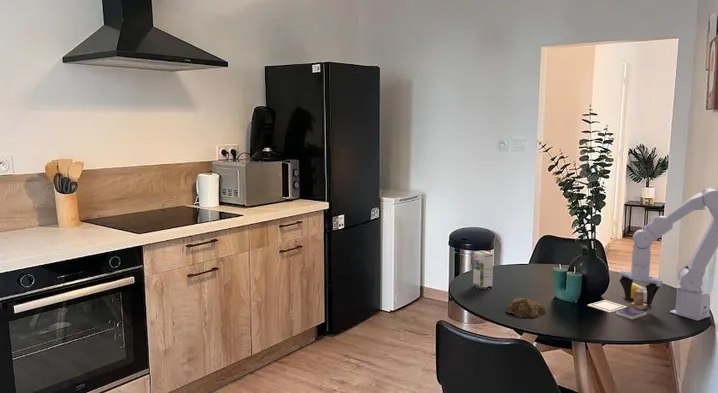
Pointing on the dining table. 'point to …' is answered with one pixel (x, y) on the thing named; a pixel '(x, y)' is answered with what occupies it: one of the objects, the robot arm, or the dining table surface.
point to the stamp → (638, 301)
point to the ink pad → (631, 313)
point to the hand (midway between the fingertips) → (638, 301)
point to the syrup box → (483, 268)
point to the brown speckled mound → (525, 308)
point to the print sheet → (607, 306)
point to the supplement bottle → (640, 288)
